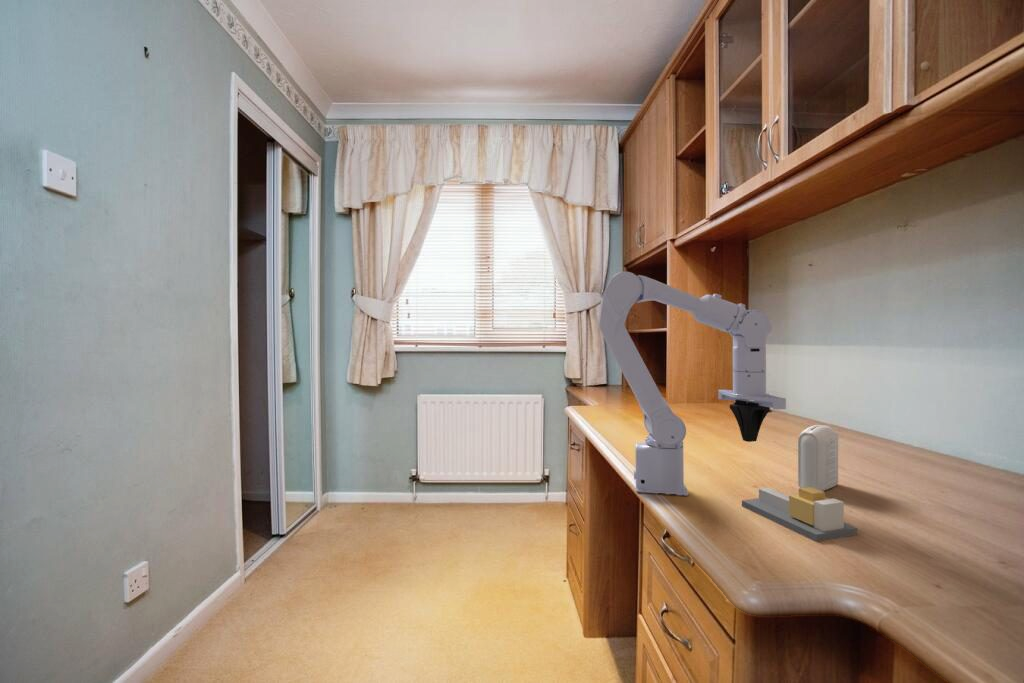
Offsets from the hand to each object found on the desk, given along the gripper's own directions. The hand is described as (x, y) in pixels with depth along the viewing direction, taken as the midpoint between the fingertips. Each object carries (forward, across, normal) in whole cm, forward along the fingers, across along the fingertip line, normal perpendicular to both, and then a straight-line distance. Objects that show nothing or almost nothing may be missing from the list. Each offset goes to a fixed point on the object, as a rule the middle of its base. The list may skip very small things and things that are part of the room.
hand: (749, 440), depth 84 cm
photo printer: (+10, -2, -15) cm, 18 cm away
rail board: (+10, -13, +3) cm, 16 cm away
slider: (+9, -16, +3) cm, 18 cm away
